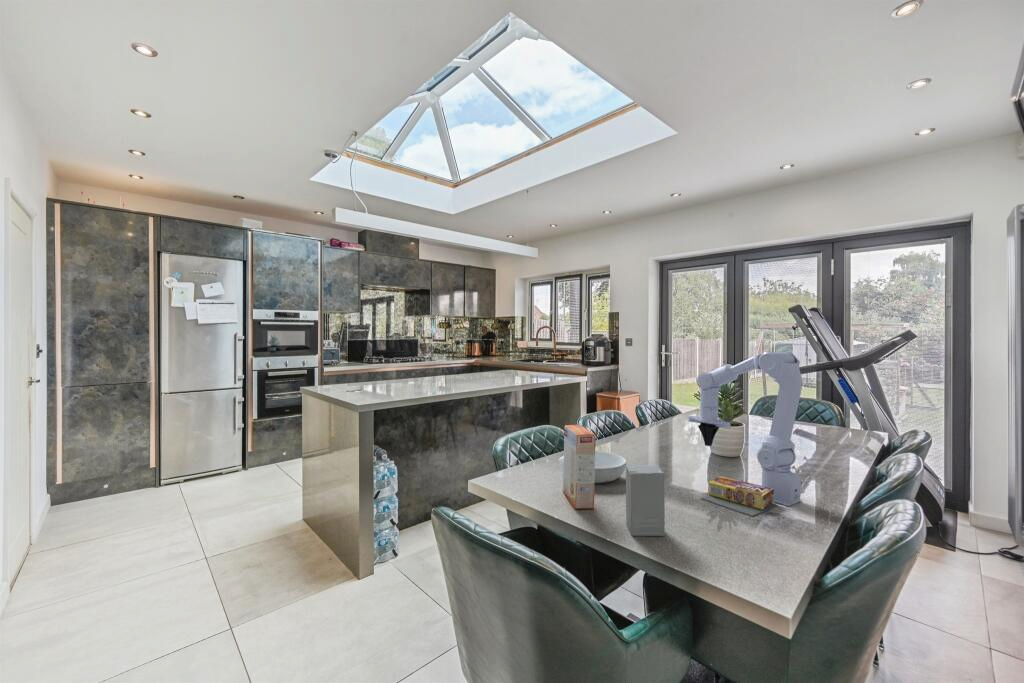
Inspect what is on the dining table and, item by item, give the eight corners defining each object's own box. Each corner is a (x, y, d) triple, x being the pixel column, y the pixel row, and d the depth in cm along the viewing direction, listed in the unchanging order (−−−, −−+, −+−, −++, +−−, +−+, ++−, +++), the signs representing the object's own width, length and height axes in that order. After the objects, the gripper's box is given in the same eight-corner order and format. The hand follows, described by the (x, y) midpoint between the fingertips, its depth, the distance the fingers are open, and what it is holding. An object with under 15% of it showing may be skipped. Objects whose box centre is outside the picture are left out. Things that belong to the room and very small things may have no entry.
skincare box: (657, 525, 110) (658, 463, 109) (665, 538, 102) (666, 472, 102) (623, 524, 110) (624, 462, 110) (629, 537, 103) (630, 471, 103)
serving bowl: (560, 468, 157) (561, 449, 157) (618, 470, 156) (619, 451, 156) (565, 488, 136) (566, 466, 136) (632, 490, 135) (632, 468, 135)
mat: (778, 506, 124) (778, 505, 124) (752, 516, 116) (752, 515, 116) (727, 490, 136) (727, 489, 136) (701, 498, 128) (701, 497, 128)
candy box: (707, 496, 131) (762, 510, 119) (707, 481, 131) (762, 494, 119) (720, 489, 137) (774, 502, 125) (720, 475, 137) (774, 487, 125)
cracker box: (595, 509, 120) (596, 434, 120) (574, 510, 119) (575, 434, 119) (581, 491, 134) (582, 424, 133) (562, 492, 133) (563, 424, 133)
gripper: (735, 408, 147) (734, 448, 147) (696, 403, 159) (696, 439, 160) (724, 410, 143) (723, 451, 144) (685, 404, 155) (684, 442, 156)
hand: (708, 445), depth 151 cm, fingers closed
